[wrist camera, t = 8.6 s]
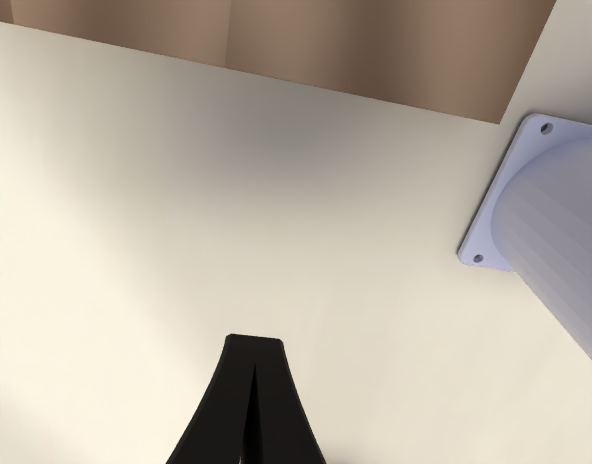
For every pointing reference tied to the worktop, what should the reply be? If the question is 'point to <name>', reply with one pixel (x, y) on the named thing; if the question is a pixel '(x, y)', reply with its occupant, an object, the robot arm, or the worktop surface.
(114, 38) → the deck
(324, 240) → the worktop surface
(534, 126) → the robot arm
